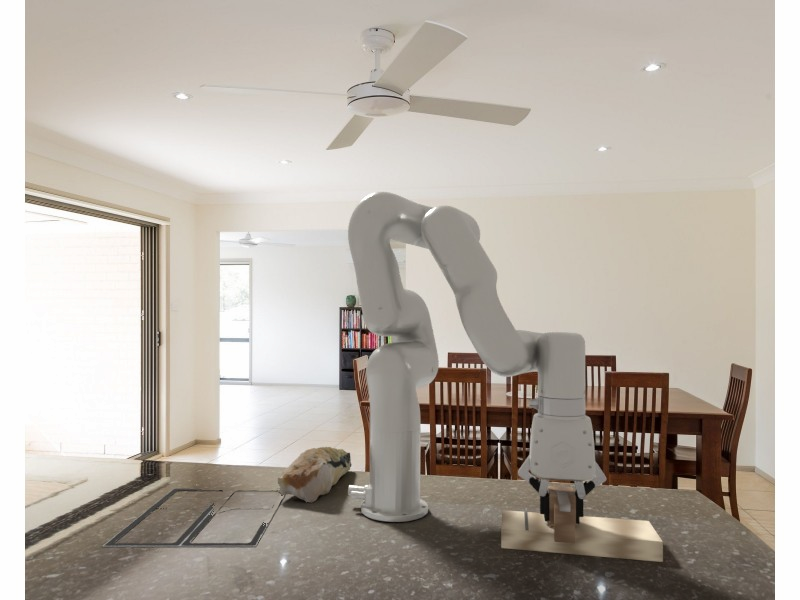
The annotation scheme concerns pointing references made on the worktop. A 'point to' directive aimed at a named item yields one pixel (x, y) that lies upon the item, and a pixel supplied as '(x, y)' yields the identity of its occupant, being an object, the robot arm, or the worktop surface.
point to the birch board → (583, 536)
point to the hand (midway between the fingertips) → (561, 518)
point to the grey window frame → (187, 535)
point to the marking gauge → (562, 513)
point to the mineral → (314, 473)
